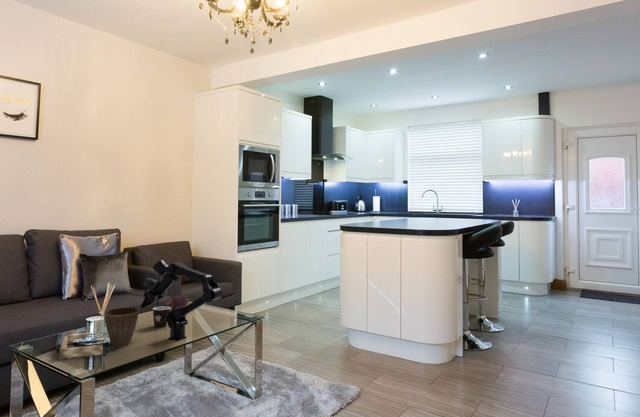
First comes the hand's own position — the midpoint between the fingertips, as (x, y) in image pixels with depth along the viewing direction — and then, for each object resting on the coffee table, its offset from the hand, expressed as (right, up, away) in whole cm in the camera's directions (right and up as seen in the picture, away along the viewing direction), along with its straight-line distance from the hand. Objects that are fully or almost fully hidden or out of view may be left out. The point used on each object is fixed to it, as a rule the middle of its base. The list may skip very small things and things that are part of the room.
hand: (145, 305), depth 206 cm
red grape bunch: (-2, -16, +54) cm, 57 cm away
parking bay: (-19, -15, -21) cm, 32 cm away
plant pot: (-6, -15, -14) cm, 21 cm away
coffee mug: (+2, -16, +17) cm, 24 cm away
